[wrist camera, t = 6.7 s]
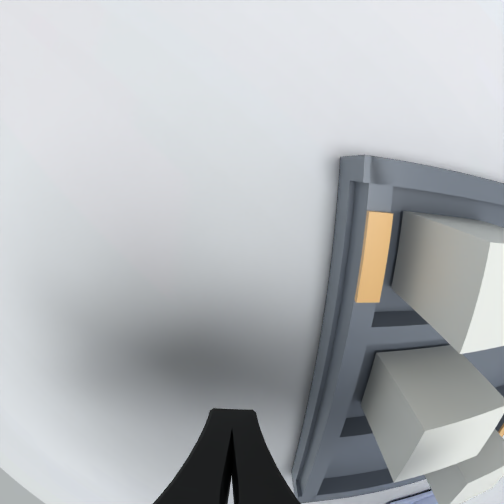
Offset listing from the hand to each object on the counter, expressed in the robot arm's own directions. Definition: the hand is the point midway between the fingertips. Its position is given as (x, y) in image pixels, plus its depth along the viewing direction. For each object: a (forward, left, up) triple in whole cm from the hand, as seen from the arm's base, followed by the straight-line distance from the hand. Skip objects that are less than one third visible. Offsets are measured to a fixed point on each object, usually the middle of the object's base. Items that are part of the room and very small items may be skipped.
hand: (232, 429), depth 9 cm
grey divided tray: (0, -10, -4) cm, 11 cm away
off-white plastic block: (+5, -7, -3) cm, 10 cm away
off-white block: (0, -7, -2) cm, 8 cm away
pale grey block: (-6, -13, -3) cm, 14 cm away
